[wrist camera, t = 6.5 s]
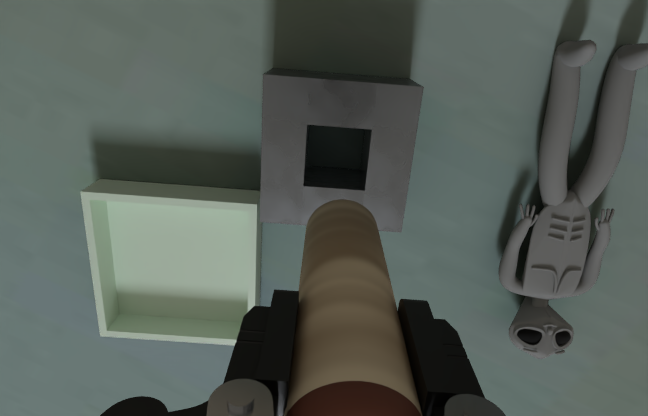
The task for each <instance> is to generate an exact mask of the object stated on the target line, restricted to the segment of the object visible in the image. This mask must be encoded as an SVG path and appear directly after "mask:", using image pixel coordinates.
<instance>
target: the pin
mask: <svg viewBox="0 0 648 416" xmlns="http://www.w3.org/2000/svg"><path fill="white" fill-rule="evenodd" d="M283 416H422V412H421V408H420V404H419V399H418V395H417V391H416V387H415V383H414V378H413V374H412V370H411V366H410V362H409V357H408V353H407V349H406V345H405V341H404V336H403V332H402V328H401V324H400V320H399V315H398V311H397V307H396V303H395V299H394V294H393V290H392V286H391V282H390V278H389V273H388V269H387V265H386V261H385V257H384V252H383V248H382V244H381V240H380V236H379V232H378V227H377V223H376V220H375V218H374V216H373V215H372V213H371V212H370V211H369V210H368V209H367V208H366V207H364V206H363V205H361V204H360V203H357V202H355V201H351V200H345V199H340V200H333V201H330V202H327V203H325V204H323V205H321V206H320V207H318V208H317V209H316V210H315V211H314V212H313V213H312V215H311V216H310V218H309V220H308V223H307V227H306V234H305V243H304V251H303V259H302V267H301V275H300V284H299V306H298V314H297V323H296V332H295V340H294V349H293V358H292V366H291V375H290V384H289V393H288V401H287V407H286V409H285V412H284V415H283Z"/></svg>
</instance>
